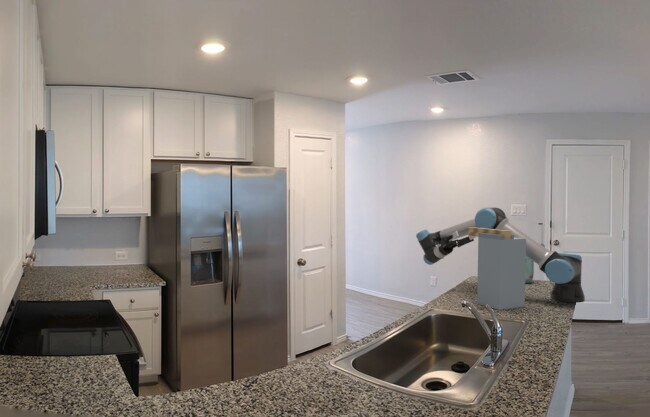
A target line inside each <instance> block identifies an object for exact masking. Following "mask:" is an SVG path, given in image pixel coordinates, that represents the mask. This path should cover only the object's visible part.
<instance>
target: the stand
mask: <svg viewBox="0 0 650 417" xmlns="http://www.w3.org/2000/svg"><path fill="white" fill-rule="evenodd" d="M477 238H478V240H477V242H478V244H477V292H476V295H477V296H476V304H478V305H481V306H484V307H487V306H486V305H487V304H488V305H490V306H491V307H492V308H491V307H490V308H491V309H494V310H498V311H503V309H504V310H511V309H517V308H523V307H526V306H525V303H526V300H525V299H526V283H525V267H526V239H525V238H516V237H514V235H511V239H509V240H504V235H495V234H486V233H478V237H477Z"/></svg>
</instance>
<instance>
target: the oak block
mask: <svg viewBox="0 0 650 417" xmlns="http://www.w3.org/2000/svg"><path fill="white" fill-rule="evenodd" d="M478 233H486V234H495V235H504V240H509V239H511V231H509V230H498V229H488V228H477V227H468V235H467V237H468V236H477V237H476V238H478Z"/></svg>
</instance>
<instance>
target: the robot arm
mask: <svg viewBox="0 0 650 417" xmlns="http://www.w3.org/2000/svg"><path fill="white" fill-rule="evenodd" d="M506 215H507V214H506V213H505V212H504V210H502V208H499V207H483V208H481V209H479V210H478V211H477V212H476V213H475V216H474V218H473V219H469V220H467V221H464V222H460V223H458V224H454V225H452V226H450V227H447V228H444V229H442V230H438V231H436V232H430V231H428V229H423V230H421V231H419V232H418V233H416V235H415V237H416V239H417V241H418V243H419V245H420V247H421V248H422V251H423V253H424V254H423V257H422V258H423V261H424V263H425V264H426V265H429V266H431V265H434V264H435V263H436V264H437V262H439V261H441V260H442V259H444V258H445V257H447V256H448V255H450V254H452V252H453V251H454V249H455V248H460V247H462V246H463V247H464V246H465V245H467V244H470V243H472V242H474V241H475V240H474V239H475V238H478V237H477V236H468V227H477V228H488V229H498V230H509V231H511V235H514V237H516V238H525V239H526V256H527V257H528V258H530V259H531V260H532V261H534V264H535V263H536V265H538V267H539V268H538V269H539V270H540V271H541V272H542V273H544V274H545V276H546V277H547V279H548V280H549V281H550V282H552V283H554V285H553V287H552V290H551V293H550V299H551V300H554V301H558V302H564V303H575V302H576V304H577V303H584V302H585V301H586V297H585V294H584V290H583V287H582V266H583V265H582V263H583V260H582V259H583V258H582V255H580V254H576V253H575V254H572V253H560V252H558V251H556V250H552V251H551V250H549V249H548V248H546V247H544V246H543V245H541V244H540V243H539V242H537V241H536V240H535V239H533V238H531V237H530V236H529V235H527V234H526V233H525V232H523V231H522V230H520V229H519V228H517V227H516V226H514V225H513V224H511V223H510V222H509V218H508V217H507V216H506ZM462 237H463V238H462Z"/></svg>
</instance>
